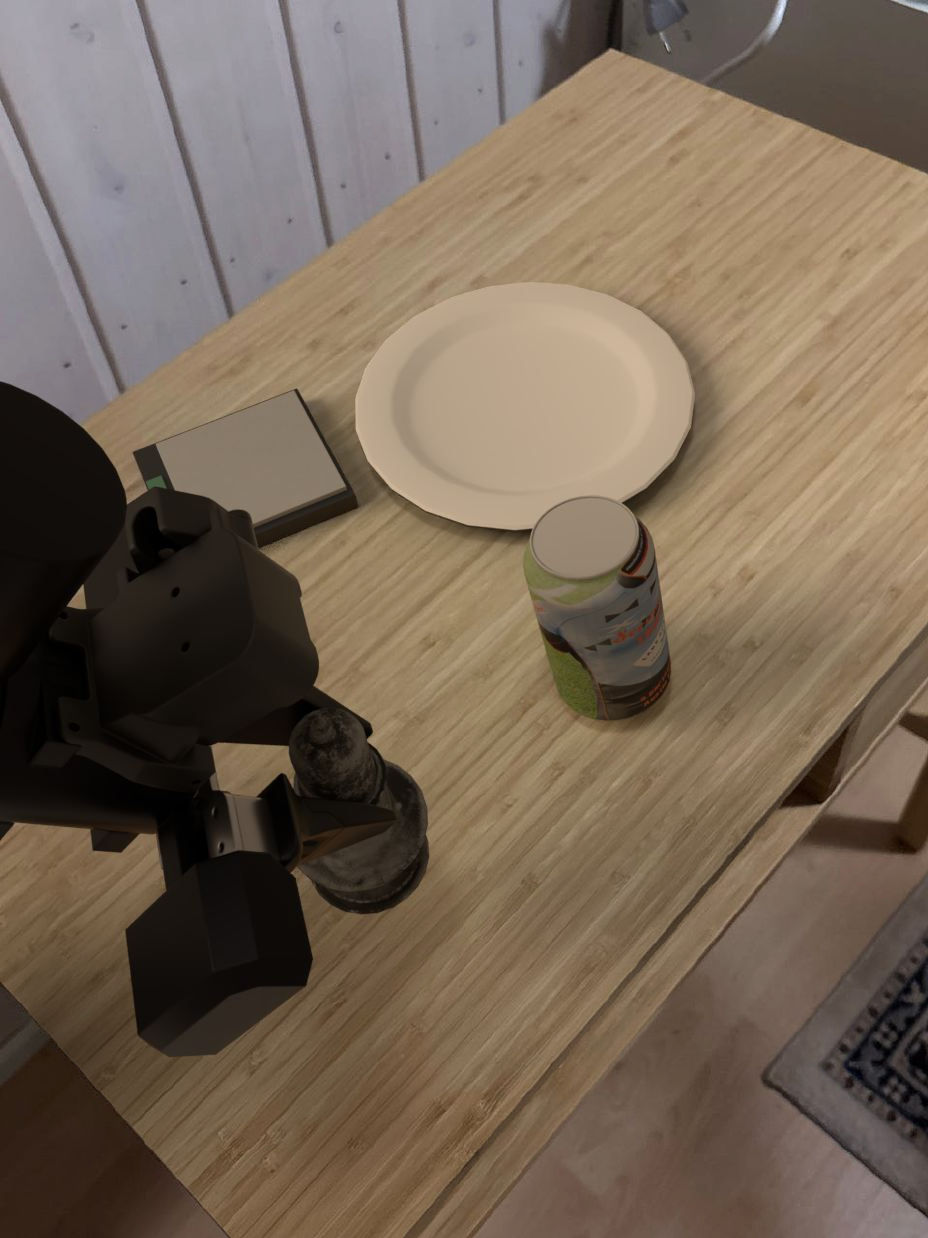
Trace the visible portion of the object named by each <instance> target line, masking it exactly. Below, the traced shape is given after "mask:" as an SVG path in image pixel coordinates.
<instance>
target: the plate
mask: <svg viewBox="0 0 928 1238" xmlns="http://www.w3.org/2000/svg"><path fill="white" fill-rule="evenodd" d="M695 398H696V392H695V387H694V384H693V380H692V375H691V372H690V367H689V362H688V361H687V360H686V358H685V357H684V354H683V353H682V351H681V350H680V349H679V347H678V345H677V344H676V342H675V341H674V339H673V338H672V337H671V335H670V334H669V333H668V332H667V331H666V330H665V329H663V327H662V326H660V325H659V324H657V322H656V321H654V320H653V319H652V318H650V317H649V316H648V315H647V314H646V313H645V312H643V311H642V310H640V309H638V308H636V307H634V306H632V305H630V304H628V303H626V302H623V301H622V300H620V299H618V298H616V297H613V296H611V295H610V294H608V293H603V292H600V291H595V290H592V289H587V288H583V287H581V286H576V285H572V284H567V283H553V282H552V283H551V282H535V281H534V282H533V281H525V282H516V283H515V282H514V283H507V284H498V285H490V286H489V285H488V286H485V287H482V288H478V289H475V290H471V291H468V292H465V293H462V294H457V295H455V296H451V297H449V298H447V299H445V300H443V301H440V302H439V303H437V304H435V305H433V306H430V307H429V308H427V309H426V310H423V311H421V312H419V313H417V314H415V315H414V316H413V317H412V318H410V319H409V320H408V321H406V322H405V323H404V324H403V325H402V326H400V328H398V329H397V330H396V331H394V332H393V333H392V334H391V335H389V336H388V337H387V338H386V339H385V341H384V342H383V343H382V345H381V346H380V347H379V349H378V350H377V351H376V352H375V354H374V355H373V357H372V358H371V360H370V361H369V363H368V364H367V365H366V366H365V369H364V372H363V374H362V377H361V380H360V384H359V386H358V389H357V392H356V395H355V397H354V399H355V400H354V401H355V403H354V406H355V408H354V409H355V410H354V411H355V432H356V434H357V435H356V436H357V437H358V439H359V442H360V445H361V447H362V450H363V452H364V455H365V458H366V460H367V463H368V464H369V466H370V467H371V468H372V469H373V470H374V471H375V473H376V474H377V475H378V476H379V478H381V480H382V481H383V482H384V483H385V485H387V487H388V488H389V489H390V490H391V492H393V493H395V494H397V496H400V497H401V498H402V499H404V500H406V501H407V502H408V503H410V504H412V505H413V506H415V507H416V508H418V509H419V510H421V511H423V512H424V513H426V514H429V515H431V516H434V517H437V518H441V519H444V520H447V521H450V522H452V523H455V524H459V525H461V526H464V527H467V528H473V529H475V528H476V529H485V530H493V531H503V532H504V531H505V532H512V533H513V532H514V533H515V532H516V533H517V532H527V531H532V529H533V527H534V525H535V523H536V522H537V520H538V519H539V518H540V517H541V516H542V515H543V514H544V513H545V512H546V511H547V510H548V509H550V508H551V507H553V506H554V505H556V504H558V503H560V502H562V501H564V500H567V499H570V498H574V497H578V496H587V495H596V496H604V497H608V498H611V499H614V500H617V501H619V502H620V503H622V504H625V503H626V502H628V501H630V500H631V499H633V498H635V497H636V496H639V495H640V494H642V493H644V492H645V491H647V490H648V489H649V488H650V487H651V486H652V484H653V483H655V481H657V480H658V478H659V477H660V476H662V475H663V473H664V472H665V471H667V469H668V468H669V467H670V466H671V465H672V464H673V463H674V462H675V460H676V458H677V457H678V455H679V452H680V451H681V449H682V447H683V444H684V443H685V441H686V439H687V437H688V435H689V433H690V431H691V429H692V421H693V416H694V415H693V414H694V406H695Z"/></svg>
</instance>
